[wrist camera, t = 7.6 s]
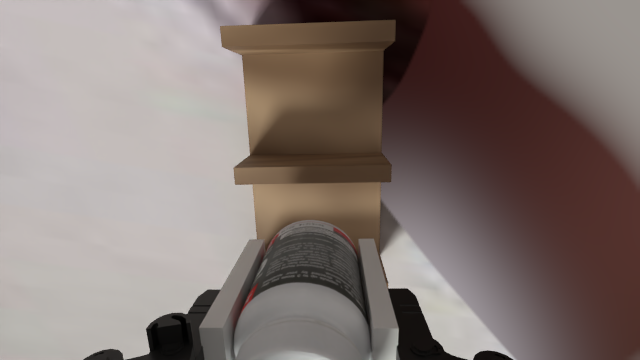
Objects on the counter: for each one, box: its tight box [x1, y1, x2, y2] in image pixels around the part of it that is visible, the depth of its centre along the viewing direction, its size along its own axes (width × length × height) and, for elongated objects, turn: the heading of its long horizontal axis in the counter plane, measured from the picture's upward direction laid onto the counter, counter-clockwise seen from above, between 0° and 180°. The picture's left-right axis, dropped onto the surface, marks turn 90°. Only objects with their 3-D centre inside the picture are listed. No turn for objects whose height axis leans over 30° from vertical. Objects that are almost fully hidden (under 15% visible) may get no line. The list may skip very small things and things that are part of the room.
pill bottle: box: [234, 220, 371, 360], centre depth 13 cm, size 5×5×8 cm
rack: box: [220, 20, 396, 288], centre depth 21 cm, size 16×9×5 cm, turn 2°
